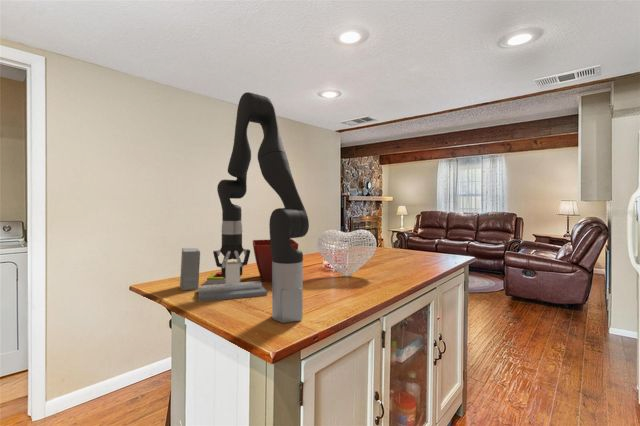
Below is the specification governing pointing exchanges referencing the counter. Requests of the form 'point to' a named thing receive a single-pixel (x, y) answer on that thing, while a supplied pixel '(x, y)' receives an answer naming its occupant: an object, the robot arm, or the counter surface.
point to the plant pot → (266, 258)
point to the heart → (368, 256)
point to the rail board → (231, 294)
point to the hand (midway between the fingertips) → (231, 276)
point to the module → (232, 272)
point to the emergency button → (215, 279)
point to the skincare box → (190, 269)
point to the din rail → (230, 287)
